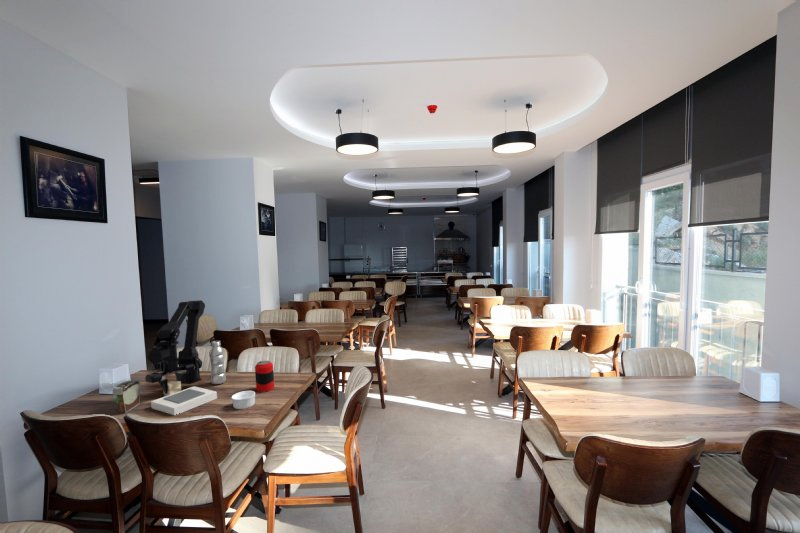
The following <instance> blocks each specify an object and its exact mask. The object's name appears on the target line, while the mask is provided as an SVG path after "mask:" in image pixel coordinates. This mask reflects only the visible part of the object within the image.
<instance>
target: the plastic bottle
mask: <svg viewBox="0 0 800 533" xmlns="http://www.w3.org/2000/svg"><path fill="white" fill-rule="evenodd" d="M221 345H222V344H221V340H213V341H211V349H210V350H209V352H208V356H209V360H210V367H211V368H210V370H211V371H210V383H211V384H212V385H220V384H223V383H225V382H226V378H227V376H226V375H227V374H226V372H225V364H224V363H225V361H224V360H225V359H224V358H225V349H224V348H223V347H222V346H221Z"/></svg>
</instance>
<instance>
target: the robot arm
mask: <svg viewBox="0 0 800 533" xmlns="http://www.w3.org/2000/svg"><path fill="white" fill-rule="evenodd" d="M205 308H206V304H205V302H204V301H203V300H188V301H181V302H179V303H178V307H177V308H176V310H175V312H174V313H173V314H172V316H171V318H170V319H169V321H168V322H167V323H166V324H164V325H162V327H161V328H160V329H159V330H158V332H157V334H156V336H155V340H154V342H153V346H152V347H151V348H152V349H151V351H149V352H148V355H147V360H148V361H149V362H150V369H151V371H152V372H150V373H148V374H146V376H145V377H144V378H145V379H144V380H145V382H148V383H151V384H155V383H158V384H159V385H160V386H161V388H162V391H163V390H164V392H165V394H167V392H168V382H169V381H168V378H166V377H167V376H171V375H173V374H174V376H175V378H176V379H175V380H176V381H181V385H182V384H183V383H185V384H192V383H195V382H199V381H202V380H203V378H202V377H201V373H200V369H202V367H203V360H201V359H200V357H199V352H198V350H197V348H196V347H197V346H196V345H197V338H198V329H199V323H200V318H201V317H202V315H204V312H205ZM186 317H187V323H186V331H185V337H184V345H183V346H184V347H182V349H181V350H180V351H178V346H177V345H179V343H180V342H179V341H178V339H179V336H180V333H181V331H180V328H181V326H182V324H183V322H184V320H185V319H186ZM153 371H155V372H153Z"/></svg>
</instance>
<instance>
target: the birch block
mask: <svg viewBox="0 0 800 533" xmlns="http://www.w3.org/2000/svg"><path fill="white" fill-rule="evenodd" d="M179 391H182V384H181V381H176V379H175V380H174V379H173V380H170V381H168V392H167V394H165V392H164V390H163V389H162V392H163V396H168V395H171V394H173V393H176V392H179Z"/></svg>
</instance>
